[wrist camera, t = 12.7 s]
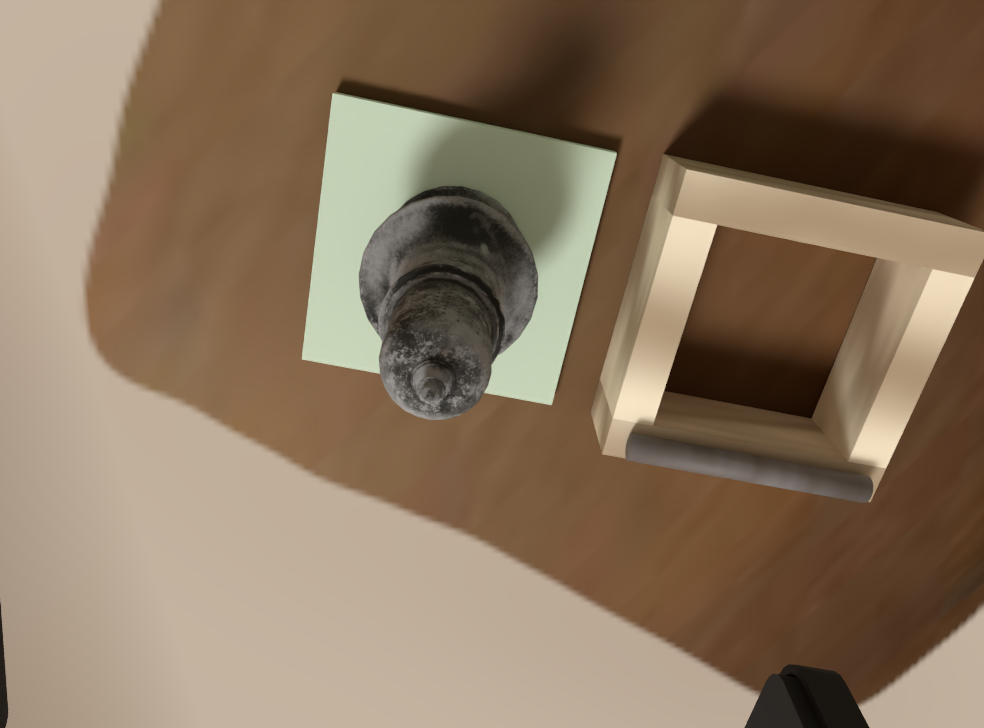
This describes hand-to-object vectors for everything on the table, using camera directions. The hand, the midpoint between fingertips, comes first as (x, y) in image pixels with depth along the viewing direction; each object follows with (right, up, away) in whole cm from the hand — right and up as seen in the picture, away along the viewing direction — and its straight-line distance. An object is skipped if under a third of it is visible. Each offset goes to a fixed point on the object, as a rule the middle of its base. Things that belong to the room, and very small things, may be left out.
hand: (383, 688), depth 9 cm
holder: (+12, +6, +21) cm, 24 cm away
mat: (0, +8, +20) cm, 21 cm away
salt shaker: (0, +8, +19) cm, 21 cm away
